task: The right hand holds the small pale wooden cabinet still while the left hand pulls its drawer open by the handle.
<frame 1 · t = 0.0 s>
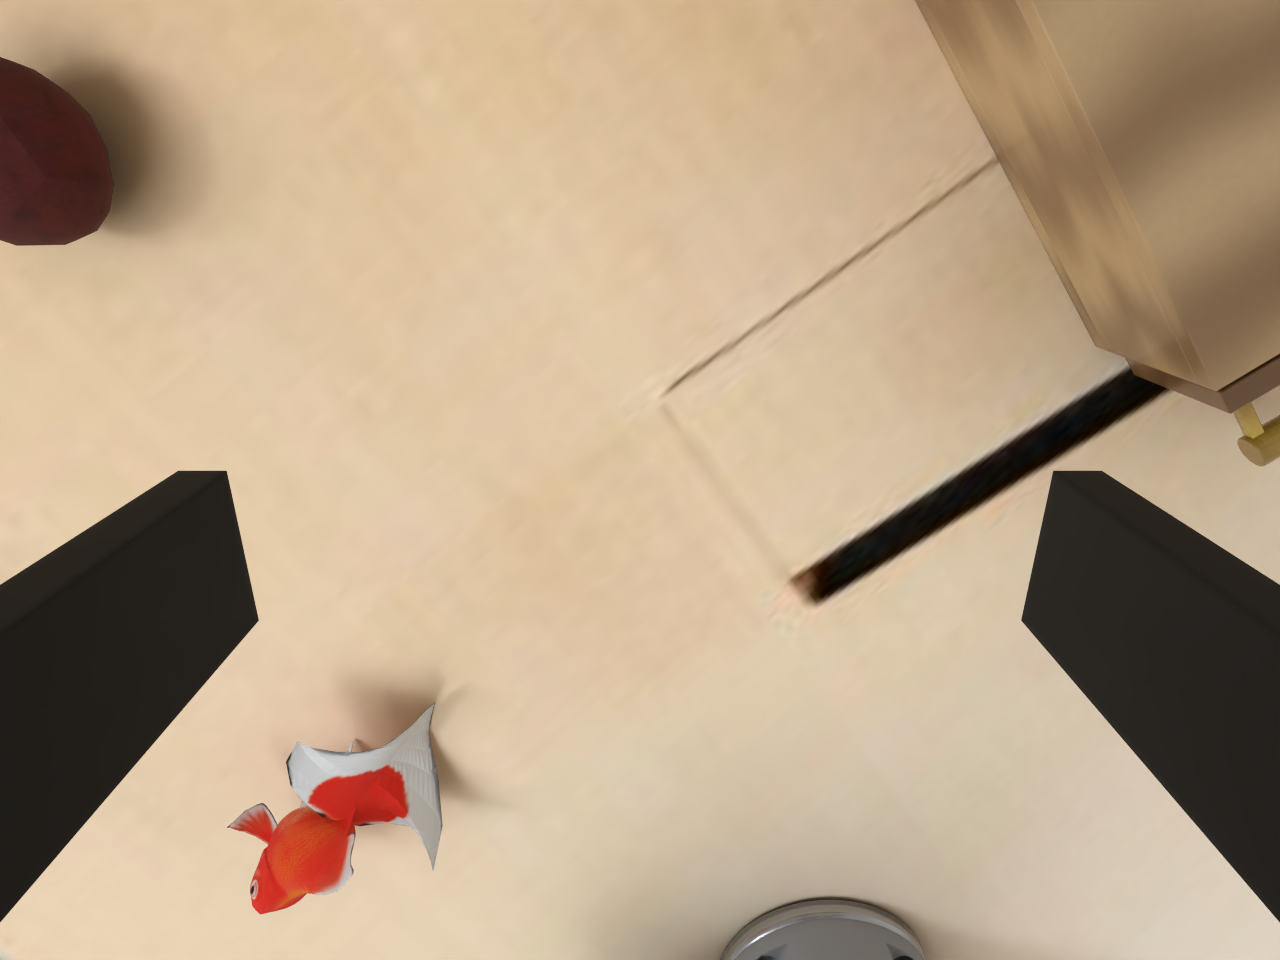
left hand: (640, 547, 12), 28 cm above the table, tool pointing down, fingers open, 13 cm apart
drawer: (1226, 206, 33), point 4 cm above the table, slide at 0.8 cm
cabinet: (1112, 98, 35), on the table
dark red ball: (70, 158, 36), on the table
fish: (365, 756, 49), on the table
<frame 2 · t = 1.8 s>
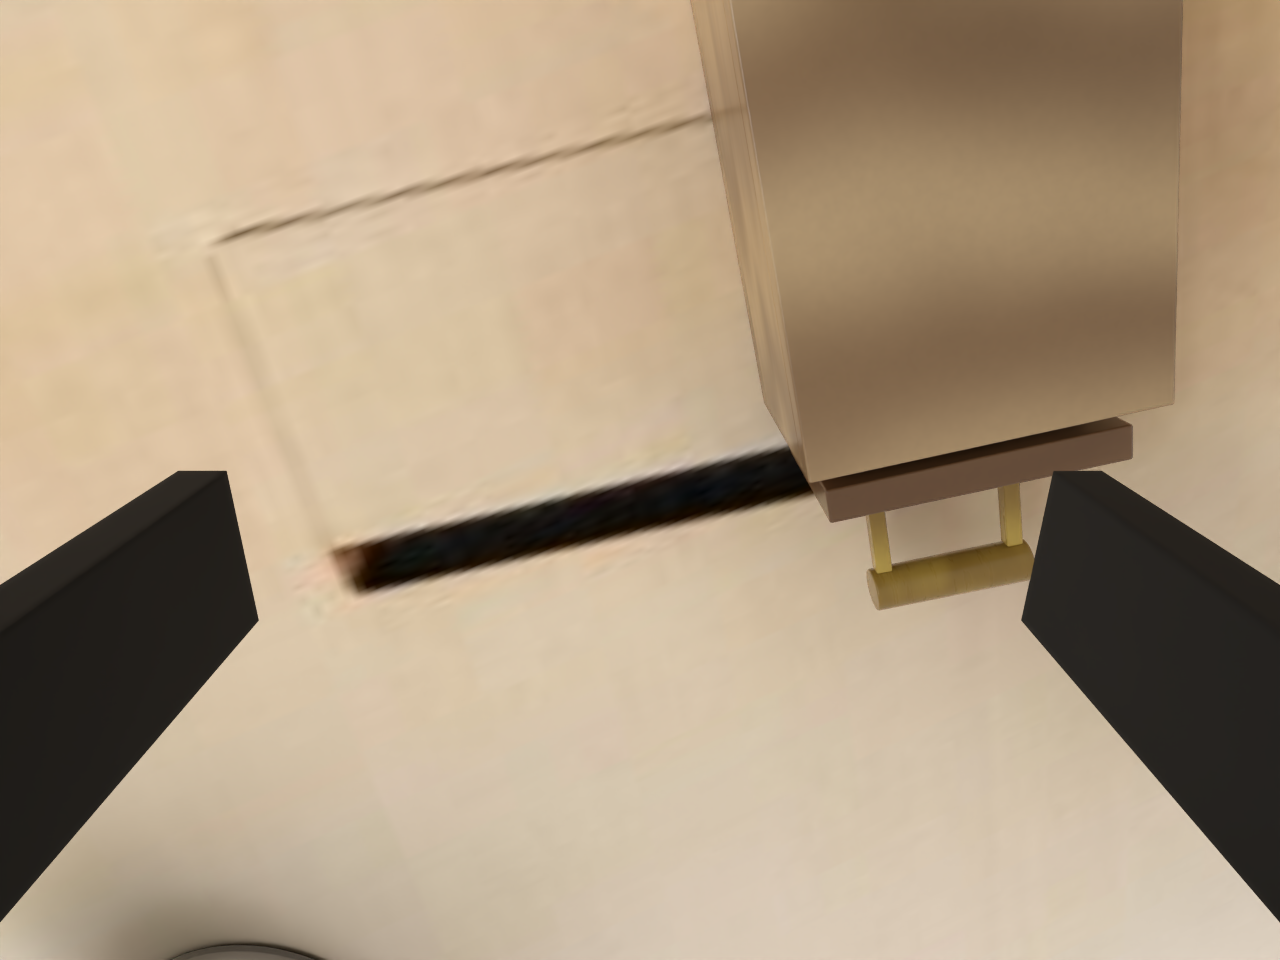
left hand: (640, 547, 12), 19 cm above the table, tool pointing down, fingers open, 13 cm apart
drawer: (922, 273, 25), point 4 cm above the table, slide at 0.8 cm
cabinet: (864, 101, 28), on the table
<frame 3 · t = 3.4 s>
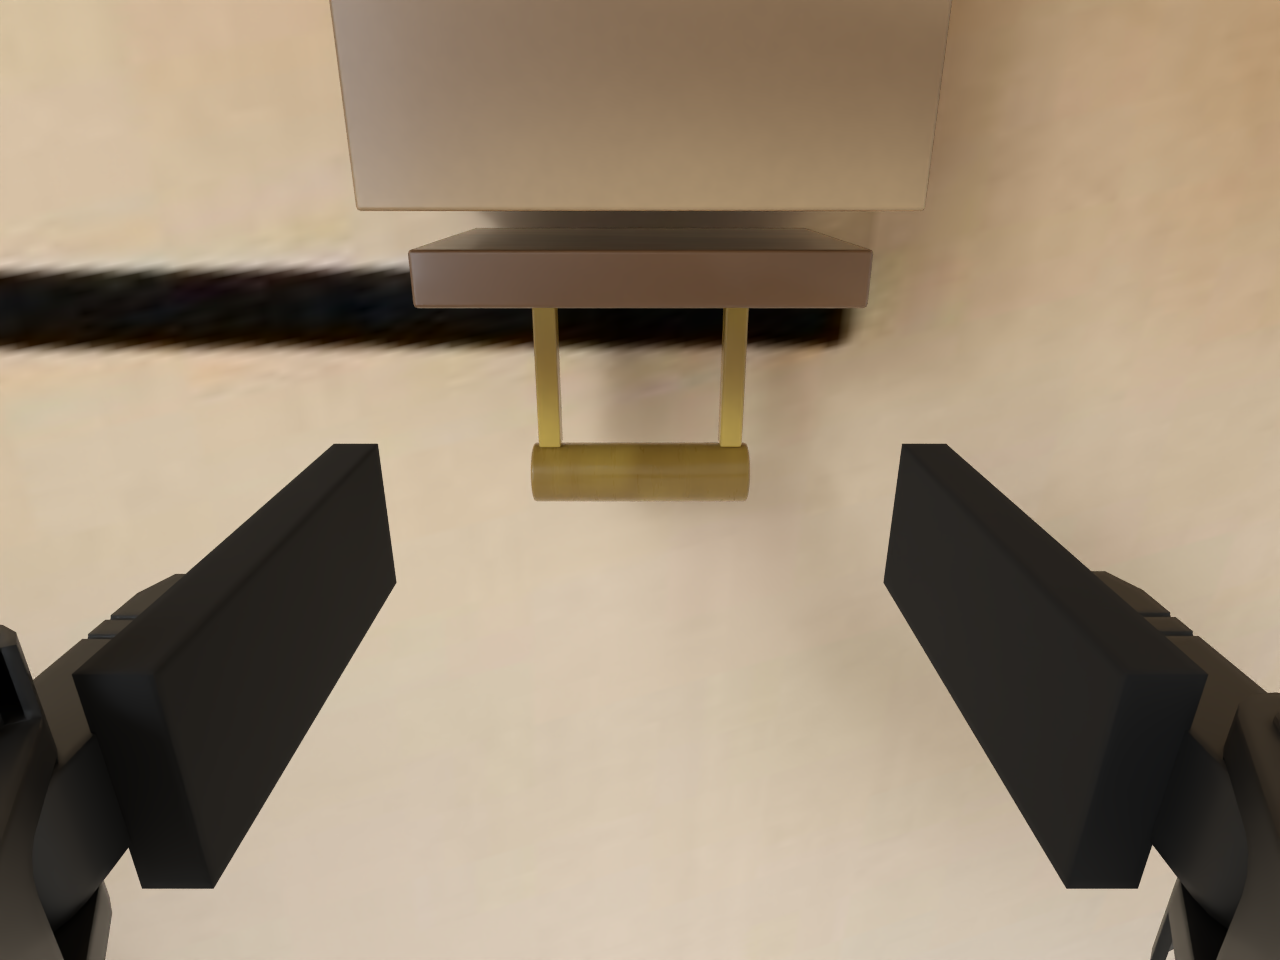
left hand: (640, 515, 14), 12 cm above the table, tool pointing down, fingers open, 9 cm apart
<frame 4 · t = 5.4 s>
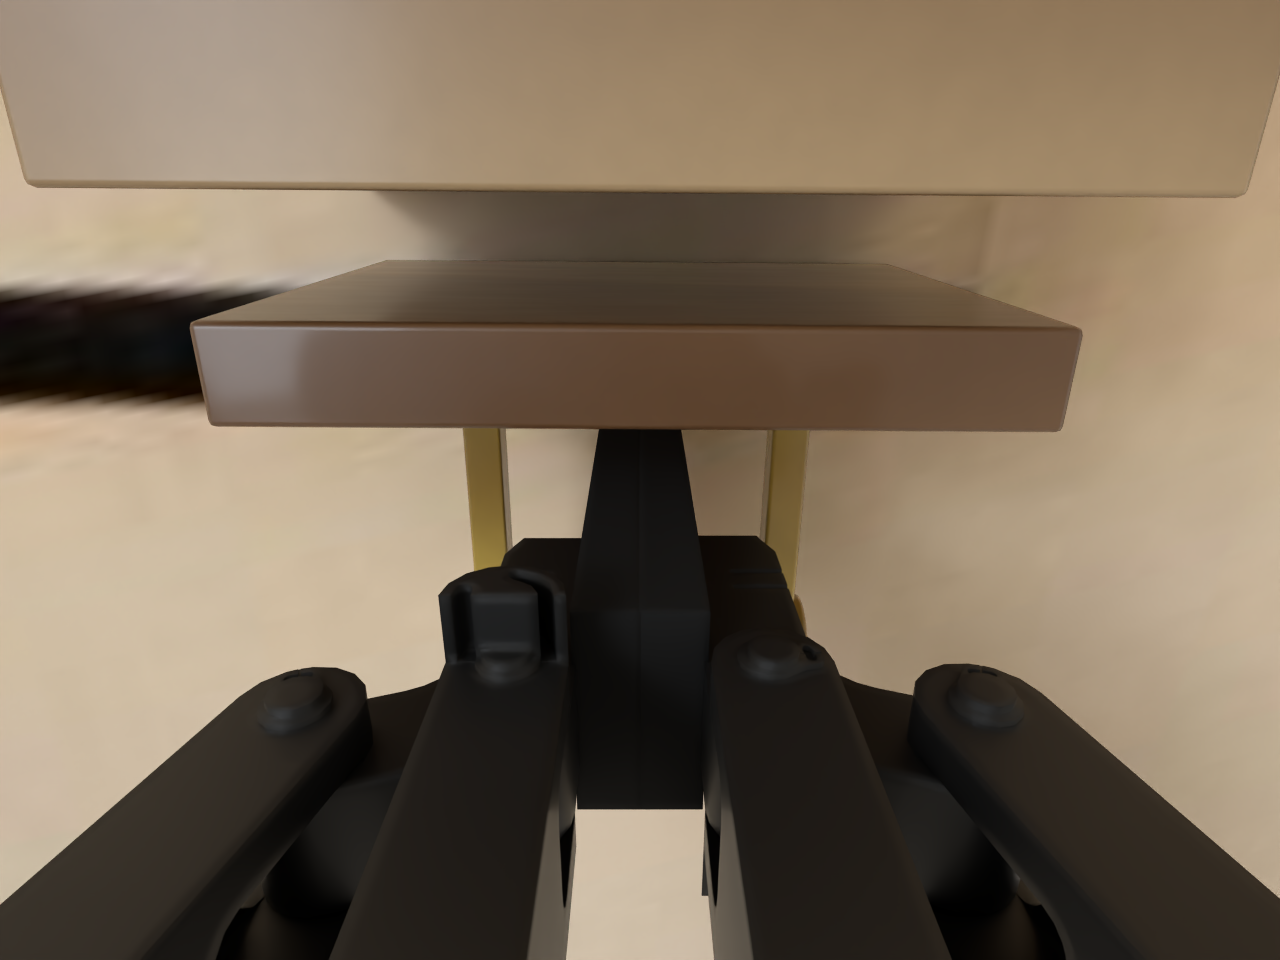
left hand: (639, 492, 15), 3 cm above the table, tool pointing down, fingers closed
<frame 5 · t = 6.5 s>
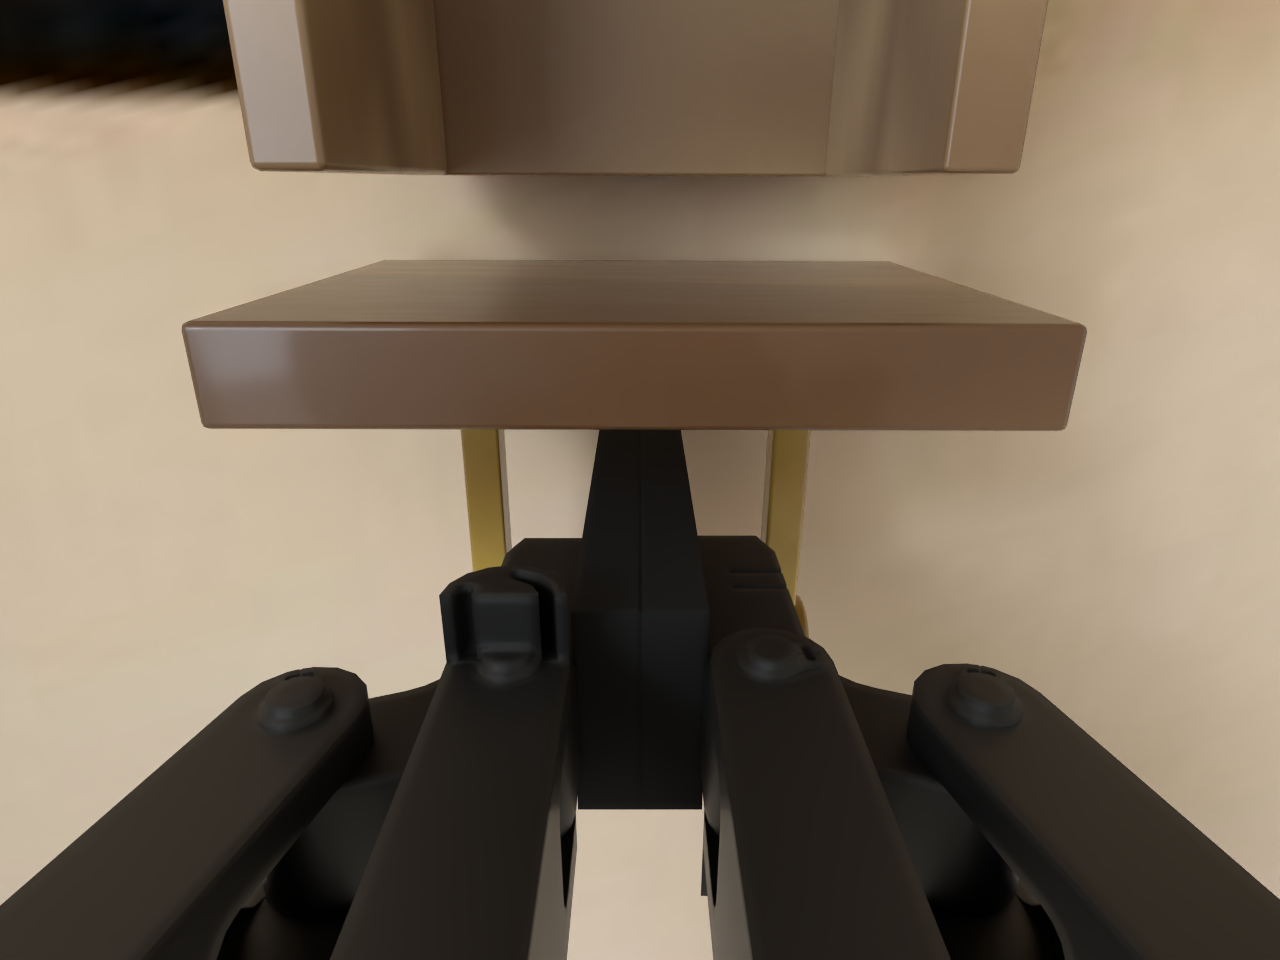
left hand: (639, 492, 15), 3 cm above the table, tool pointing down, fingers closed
when the right hand's fingers open (4 cm above the table, at t = 8.2 s): cabinet stays where it is, on the table.
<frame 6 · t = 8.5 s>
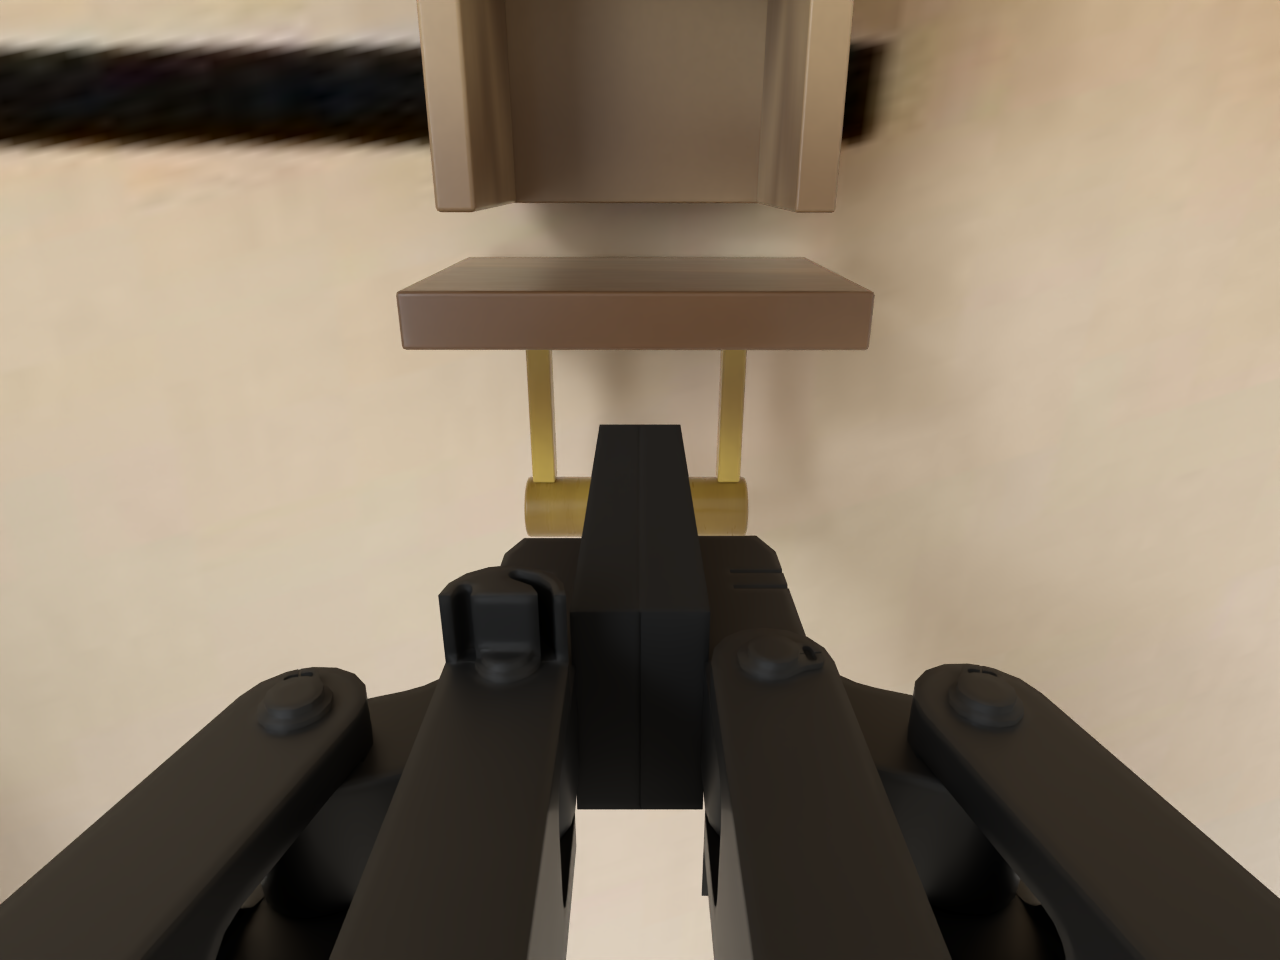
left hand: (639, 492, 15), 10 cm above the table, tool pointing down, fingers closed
drawer: (635, 12, 17), point 4 cm above the table, slide at 7.4 cm
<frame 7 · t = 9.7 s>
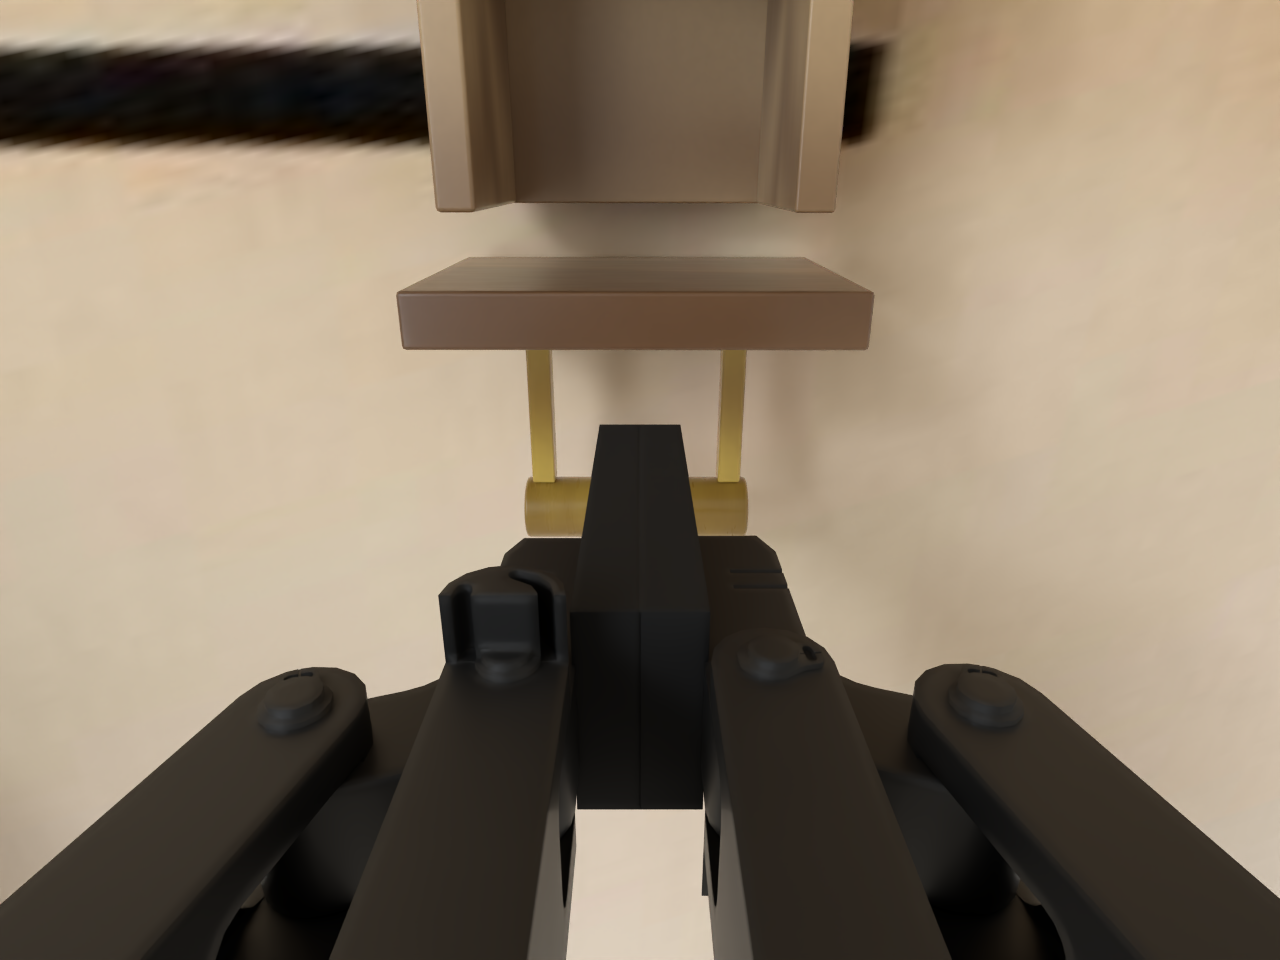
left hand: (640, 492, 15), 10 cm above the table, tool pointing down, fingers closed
drawer: (635, 13, 17), point 4 cm above the table, slide at 7.4 cm
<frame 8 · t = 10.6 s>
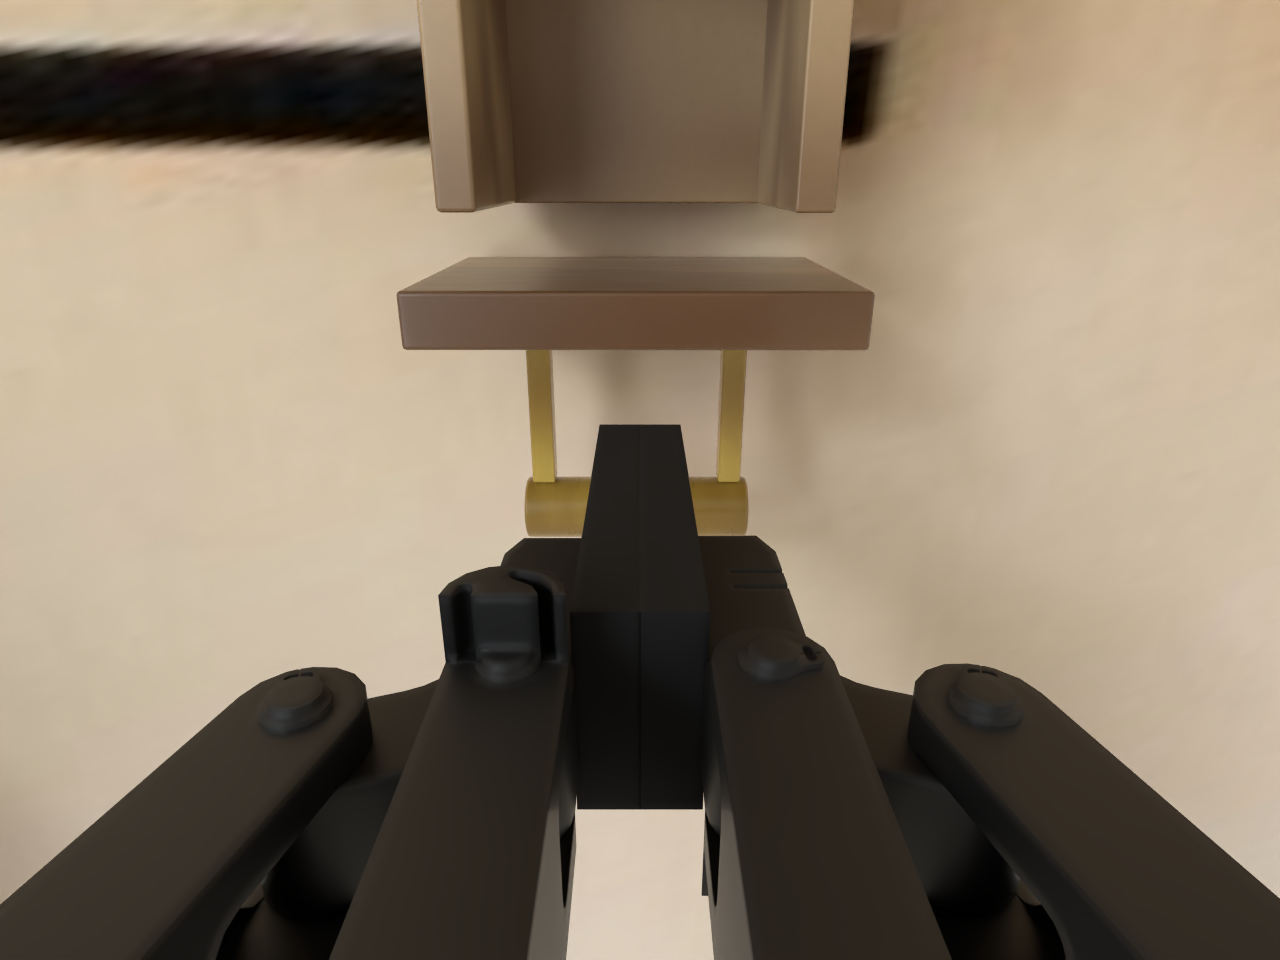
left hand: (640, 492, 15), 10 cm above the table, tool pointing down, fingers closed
drawer: (636, 13, 17), point 4 cm above the table, slide at 7.4 cm
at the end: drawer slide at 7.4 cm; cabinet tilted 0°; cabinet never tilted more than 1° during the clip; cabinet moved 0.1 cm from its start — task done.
